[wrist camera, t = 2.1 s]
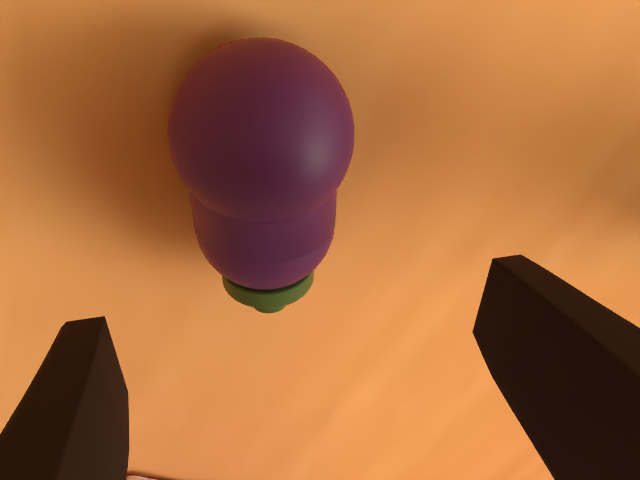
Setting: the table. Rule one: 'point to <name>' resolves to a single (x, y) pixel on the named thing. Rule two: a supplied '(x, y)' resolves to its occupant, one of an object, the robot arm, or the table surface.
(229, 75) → the eggplant
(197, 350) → the table surface
